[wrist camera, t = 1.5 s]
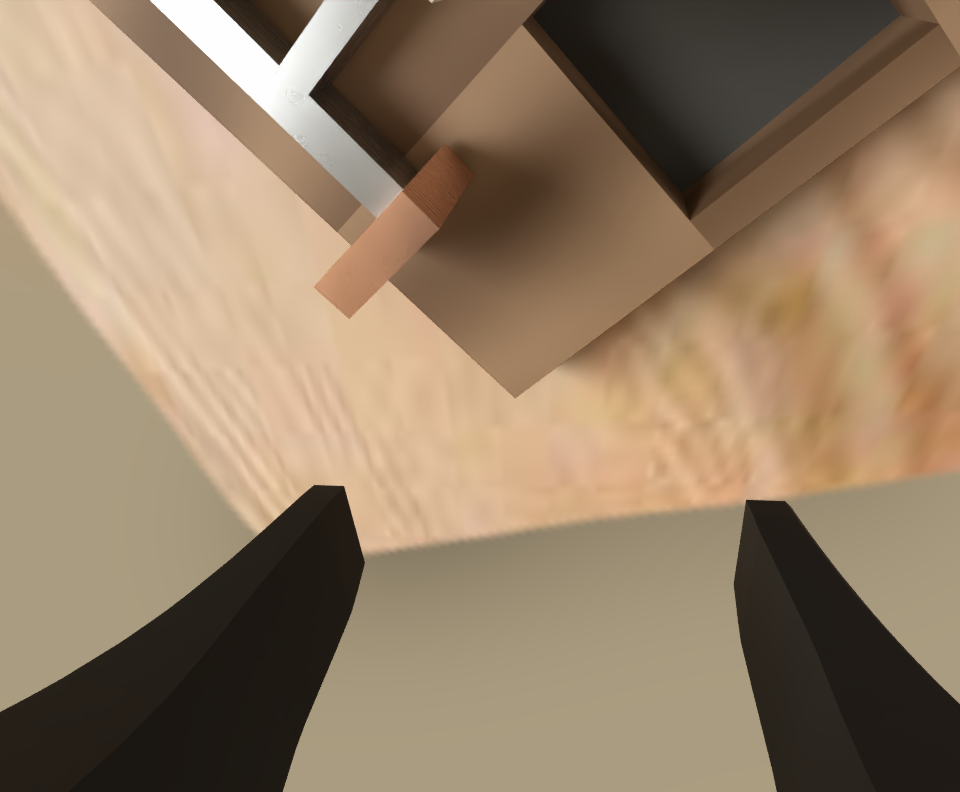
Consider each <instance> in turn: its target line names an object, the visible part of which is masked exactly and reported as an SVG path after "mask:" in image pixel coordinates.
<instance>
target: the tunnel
mask: <svg viewBox="0 0 960 792" xmlns="http://www.w3.org/2000/svg"><path fill="white" fill-rule="evenodd" d="M89 1H90V2H91V3H93V4H94V5H95V6H96V7H97V8H98V9H99V10H100V11H101V12H102V13H103V14H104V15H105V16H106V17H108V18H109V19H110V20H111V21H112V22H113V23H114V24H115V25H116V26H117V27H118V28H119V29H120V30H121V31H122V32H124V33H125V34H126V35H127V36H128V37H129V38H130V39H131V40H132V41H133V42H134V43H135V44H136V45H137V46H139V47H140V48H141V49H142V50H143V51H144V52H145V53H146V54H147V55H148V56H149V57H150V58H151V59H152V60H154V61H155V62H156V63H157V64H158V65H159V66H160V67H161V68H162V69H163V70H164V71H165V72H166V73H167V74H169V75H170V76H171V77H172V78H173V79H174V80H175V81H176V82H177V83H178V84H179V85H180V86H181V87H182V88H183V89H185V90H186V91H187V92H188V93H189V94H190V95H191V96H192V97H193V98H194V99H195V100H196V101H197V102H198V103H200V104H201V105H202V106H203V107H204V108H205V109H206V110H207V111H208V112H209V113H210V114H211V115H212V116H213V117H215V118H216V119H217V120H218V121H219V122H220V123H221V124H222V125H223V126H224V127H225V128H226V129H227V130H228V131H229V132H231V133H232V134H233V135H234V136H235V137H236V138H237V139H238V140H239V141H240V142H241V143H242V144H243V145H244V146H246V147H247V148H248V149H249V150H250V151H251V152H252V153H253V154H254V155H255V156H256V157H257V158H258V159H259V160H261V161H262V162H263V163H264V164H265V165H266V166H267V167H268V168H269V169H270V170H271V171H272V172H273V173H274V174H276V175H277V176H278V177H279V178H280V179H281V180H282V181H283V182H284V183H285V184H286V185H287V186H288V187H289V188H290V189H292V190H293V191H294V192H295V193H296V194H297V195H298V196H299V197H300V198H301V199H302V200H303V201H304V202H305V203H307V204H308V205H309V206H310V207H311V208H312V209H313V210H314V211H315V212H316V213H317V214H318V215H319V216H320V217H322V218H323V219H324V220H325V221H326V222H327V223H328V224H329V225H330V226H331V227H332V228H333V229H334V230H335V231H336V232H338V233H339V234H340V235H341V236H342V237H343V238H344V239H345V240H346V241H347V242H348V243H349V244H350V245H352V244H353V243H354V242H355V241H356V240H357V239H358V237H359V236H360V235H361V234H362V233H363V232H364V231H365V230H366V229H367V228H368V226H369V225H370V224H371V223H372V222H373V221H374V220H375V219H376V217H375V216H374V215H373V214H372V213H371V212H370V211H369V210H368V209H366V208H365V207H364V206H363V205H362V204H361V203H360V202H359V201H358V200H357V199H356V198H355V197H354V196H353V195H352V194H351V193H350V192H349V191H348V190H347V189H346V188H345V187H344V186H343V185H342V184H341V183H340V182H338V181H337V180H336V179H335V178H334V177H333V176H332V175H331V174H330V173H329V172H328V171H327V170H326V169H325V168H324V167H323V166H322V165H321V164H320V163H319V162H318V161H317V160H316V159H315V158H314V157H313V156H311V155H310V154H309V153H308V152H307V151H306V150H305V149H304V148H303V147H302V146H301V145H300V144H299V143H298V142H297V141H296V140H295V139H294V138H293V137H292V136H291V135H290V134H289V133H288V132H287V131H286V130H284V129H283V128H282V127H281V126H280V125H279V124H278V123H277V122H276V121H275V120H274V119H273V118H272V117H271V116H270V115H269V114H268V113H267V112H266V111H265V110H264V109H263V108H262V107H261V106H260V105H259V104H258V103H256V102H255V101H254V100H253V99H252V98H251V97H250V96H249V95H248V94H247V93H246V92H245V91H244V90H243V89H242V88H241V87H240V86H239V85H238V84H237V83H236V82H235V81H234V80H233V79H232V78H231V77H229V76H228V75H227V74H226V73H225V72H224V71H223V70H222V69H221V68H220V67H219V66H218V65H217V64H216V63H215V62H214V61H213V60H212V59H211V58H210V57H209V56H208V55H207V54H206V53H205V52H204V51H202V50H201V49H200V48H199V47H198V46H197V45H196V44H195V43H194V42H193V41H192V40H191V39H190V38H189V37H188V36H187V35H186V34H185V33H184V32H183V31H182V30H181V29H180V28H179V27H178V26H177V25H176V24H174V23H173V22H172V21H171V20H170V19H169V18H168V17H167V16H166V15H165V14H164V13H163V12H162V11H161V10H160V9H159V8H158V7H157V6H156V5H155V4H154V3H153V2H152V1H151V0H89ZM250 1H251V2H252V3H253V4H254V5H255V6H256V7H257V8H258V9H259V10H260V11H261V12H262V13H263V14H264V15H265V16H266V17H267V18H268V19H269V20H270V21H271V22H272V23H273V24H274V25H275V26H276V27H277V28H278V29H279V30H280V32H281V33H282V34H283V35H284V36H285V37H286V38H287V39H288V40H289V41H290V42H291V43H292V44H293V45H294V44H295V42H296V41H297V39H298V38H299V36H300V35H301V34H302V32H303V31H304V29H305V28H306V26H307V25H308V24H309V22H310V21H311V19H312V18H313V16H314V15H315V13H316V12H317V11H318V9H319V8H320V6H321V5H322V3H323V2H324V1H325V0H250ZM959 67H960V0H395V1H394V3H393V4H392V5H391V7H390V8H389V9H388V11H387V12H386V13H385V15H384V16H383V17H382V19H381V20H380V21H379V23H378V24H377V25H376V27H375V28H374V29H373V30H372V32H371V33H370V34H369V36H368V37H367V38H366V40H365V41H364V42H363V44H362V45H361V46H360V48H359V49H358V50H357V52H356V53H355V54H354V56H353V57H352V58H351V60H350V61H349V62H348V63H347V65H346V66H345V67H344V69H343V70H342V71H341V73H340V74H339V75H338V77H337V78H336V79H335V81H334V82H333V83H332V84H333V85H334V86H335V87H336V88H337V89H338V90H339V91H340V92H341V93H342V94H343V95H344V96H345V97H346V98H347V99H348V100H349V101H350V102H351V104H352V105H353V106H354V107H355V108H356V109H357V110H358V111H359V112H360V113H361V114H362V115H363V116H364V117H365V118H366V119H367V120H368V121H369V122H370V123H371V124H372V125H373V126H374V127H375V128H376V129H377V130H378V131H379V132H380V133H381V134H382V135H383V136H384V137H385V138H386V139H387V140H388V141H389V142H390V143H391V144H392V145H393V146H394V147H395V148H396V149H397V150H398V151H399V152H400V153H401V154H402V155H403V156H404V157H405V158H406V159H407V160H408V161H409V162H410V163H411V164H412V165H413V166H414V167H415V168H416V169H417V170H418V171H420V170H421V169H422V168H423V167H424V166H425V164H426V163H427V162H428V161H429V160H430V159H431V158H432V157H433V156H434V155H435V154H436V152H437V151H438V150H439V149H440V148H441V147H442V146H443V145H444V144H445V143H446V144H447V145H448V146H449V147H450V148H451V149H452V150H453V151H454V152H455V153H456V154H457V155H458V156H459V158H460V159H461V160H462V161H463V162H464V163H465V164H466V165H467V166H468V167H469V168H470V169H471V170H472V171H473V172H474V173H475V174H474V176H473V177H472V179H471V180H470V182H469V183H468V185H467V187H466V188H465V190H464V191H463V193H462V194H461V196H460V197H459V199H458V201H457V202H456V204H455V205H454V207H453V208H452V210H451V211H450V213H449V215H448V216H447V218H446V219H445V221H444V222H443V224H442V226H441V227H440V229H439V230H438V231H437V232H436V233H435V234H434V235H433V236H432V237H431V238H430V239H429V240H428V241H427V242H426V243H425V244H424V245H423V246H422V247H421V248H420V249H419V250H418V251H417V252H416V253H415V254H414V255H413V256H412V257H411V258H410V259H409V260H408V261H407V262H406V263H405V264H404V265H403V266H402V267H401V268H400V269H399V270H398V271H397V272H396V273H395V274H394V275H393V276H392V277H391V278H390V279H389V281H390V282H391V283H392V284H393V285H394V286H395V287H396V288H397V289H399V290H400V291H401V292H402V293H403V294H404V295H405V296H406V297H407V298H408V299H409V300H410V301H411V302H412V303H414V304H415V305H416V306H417V307H418V308H419V309H420V310H421V311H422V312H423V313H424V314H425V315H426V316H427V317H429V318H430V319H431V320H432V321H433V322H434V323H435V324H436V325H437V326H438V327H439V328H440V329H441V330H442V331H443V332H445V333H446V334H447V335H448V336H449V337H450V338H451V339H452V340H453V341H454V342H455V343H456V344H457V345H458V346H460V347H461V348H462V349H463V350H464V351H465V352H466V353H467V354H468V355H469V356H470V357H471V358H472V359H473V360H475V361H476V362H477V363H478V364H479V365H480V366H481V367H482V368H483V369H484V370H485V371H486V372H487V373H488V374H490V375H491V376H492V377H493V378H494V379H495V380H496V381H497V382H498V383H499V384H500V385H501V386H502V387H503V388H504V389H506V390H507V391H508V392H509V393H510V394H511V395H512V396H513V397H514V398H516V397H518V396H519V395H520V394H522V393H523V392H524V391H526V390H527V389H528V388H530V387H531V386H532V385H534V384H535V383H536V382H538V381H539V380H540V379H542V378H543V377H544V376H546V375H547V374H548V373H550V372H551V371H552V370H554V369H555V368H557V367H558V366H559V365H561V364H562V363H563V362H565V361H566V360H567V359H569V358H570V357H571V356H573V355H574V354H575V353H577V352H578V351H579V350H581V349H582V348H583V347H585V346H586V345H587V344H589V343H590V342H591V341H593V340H594V339H595V338H597V337H598V336H599V335H601V334H602V333H603V332H605V331H606V330H607V329H609V328H610V327H611V326H613V325H614V324H616V323H617V322H618V321H620V320H621V319H622V318H624V317H625V316H626V315H628V314H629V313H630V312H632V311H633V310H634V309H636V308H637V307H638V306H640V305H641V304H642V303H644V302H645V301H646V300H648V299H649V298H650V297H652V296H653V295H654V294H656V293H657V292H658V291H660V290H661V289H662V288H664V287H665V286H666V285H668V284H669V283H670V282H672V281H673V280H675V279H676V278H677V277H679V276H680V275H681V274H683V273H684V272H685V271H687V270H688V269H689V268H691V267H692V266H693V265H695V264H696V263H697V262H699V261H700V260H701V259H703V258H704V257H705V256H707V255H708V254H709V253H711V252H712V251H713V250H715V249H716V248H717V247H719V246H720V245H721V244H723V243H724V242H725V241H727V240H728V239H729V238H731V237H732V236H734V235H735V234H736V233H738V232H739V231H740V230H742V229H743V228H744V227H746V226H747V225H748V224H750V223H751V222H752V221H754V220H755V219H756V218H758V217H759V216H760V215H762V214H763V213H764V212H766V211H767V210H768V209H770V208H771V207H772V206H774V205H775V204H776V203H778V202H779V201H780V200H782V199H783V198H784V197H786V196H787V195H788V194H790V193H791V192H793V191H794V190H795V189H797V188H798V187H799V186H801V185H802V184H803V183H805V182H806V181H807V180H809V179H810V178H811V177H813V176H814V175H815V174H817V173H818V172H819V171H821V170H822V169H823V168H825V167H826V166H827V165H829V164H830V163H831V162H833V161H834V160H835V159H837V158H838V157H839V156H841V155H842V154H843V153H845V152H846V151H847V150H849V149H850V148H852V147H853V146H854V145H856V144H857V143H858V142H860V141H861V140H862V139H864V138H865V137H866V136H868V135H869V134H870V133H872V132H873V131H874V130H876V129H877V128H878V127H880V126H881V125H882V124H884V123H885V122H886V121H888V120H889V119H890V118H892V117H893V116H894V115H896V114H897V113H898V112H900V111H901V110H902V109H904V108H905V107H906V106H908V105H909V104H911V103H912V102H913V101H915V100H916V99H917V98H919V97H920V96H921V95H923V94H924V93H925V92H927V91H928V90H929V89H931V88H932V87H933V86H935V85H936V84H937V83H939V82H940V81H941V80H943V79H944V78H945V77H947V76H948V75H949V74H951V73H952V72H953V71H955V70H956V69H957V68H959Z"/></svg>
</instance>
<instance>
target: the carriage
mask: <svg viewBox="0 0 960 792" xmlns="http://www.w3.org/2000/svg"><path fill="white" fill-rule="evenodd" d="M151 1H152V2H153V3H154V4H155V5H156V6H157V7H158V8H159V9H160V10H161V11H162V12H163V13H164V14H165V15H166V16H167V17H168V18H169V19H170V20H171V21H172V22H173V23H174V24H176V25H177V26H178V27H179V28H180V29H181V30H182V31H183V32H184V33H185V34H186V35H187V36H188V37H189V38H190V39H191V40H192V41H193V42H194V43H195V44H196V45H197V46H198V47H199V48H200V49H201V50H202V51H204V52H205V53H206V54H207V55H208V56H209V57H210V58H211V59H212V60H213V61H214V62H215V63H216V64H217V65H218V66H219V67H220V68H221V69H222V70H223V71H224V72H225V73H226V74H227V75H228V76H229V77H231V78H232V79H233V80H234V81H235V82H236V83H237V84H238V85H239V86H240V87H241V88H242V89H243V90H244V91H245V92H246V93H247V94H248V95H249V96H250V97H251V98H252V99H253V100H254V101H255V102H256V103H258V104H259V105H260V106H261V107H262V108H263V109H264V110H265V111H266V112H267V113H268V114H269V115H270V116H271V117H272V118H273V119H274V120H275V121H276V122H277V123H278V124H279V125H280V126H281V127H282V128H283V129H284V130H286V131H287V132H288V133H289V134H290V135H291V136H292V137H293V138H294V139H295V140H296V141H297V142H298V143H299V144H300V145H301V146H302V147H303V148H304V149H305V150H306V151H307V152H308V153H309V154H310V155H311V156H313V157H314V158H315V159H316V160H317V161H318V162H319V163H320V164H321V165H322V166H323V167H324V168H325V169H326V170H327V171H328V172H329V173H330V174H331V175H332V176H333V177H334V178H335V179H336V180H337V181H338V182H340V183H341V184H342V185H343V186H344V187H345V188H346V189H347V190H348V191H349V192H350V193H351V194H352V195H353V196H354V197H355V198H356V199H357V200H358V201H359V202H360V203H361V204H362V205H363V206H364V207H365V208H366V209H368V210H369V211H370V212H371V213H372V214H373V215H374V216H375V217H376V219H375V220H374V221H373V222H372V223H371V224H370V225H369V226H368V228H367V229H366V230H365V231H364V232H363V233H362V234H361V235H360V236H359V237H358V239H357V240H356V241H355V242H354V243H353V244H352V245H351V246H350V247H349V249H348V250H347V251H346V252H345V253H344V254H343V255H342V256H341V257H340V258H339V260H338V261H337V262H336V263H335V264H334V265H333V266H332V267H331V268H330V269H329V271H328V272H327V273H326V274H325V275H324V276H323V277H322V278H321V279H320V281H319V282H318V283H317V284H316V285H315V286H314V288H315V289H316V290H317V291H319V292H320V293H321V294H322V295H323V296H324V297H325V298H326V299H327V300H329V301H330V302H331V303H332V304H333V305H334V306H335V307H336V308H338V309H339V310H340V311H341V312H342V313H343V314H344V315H345V316H347V317H348V318H349V319H350V318H351V317H352V316H353V315H354V314H355V313H356V312H357V311H358V310H359V309H360V308H361V307H362V306H363V305H364V304H365V303H366V302H367V301H368V300H369V299H370V298H371V297H372V296H373V295H374V294H375V293H376V292H377V291H378V290H379V289H380V288H381V287H382V286H383V285H384V284H385V283H386V282H387V281H388V280H389V279H390V278H391V277H392V276H393V275H394V274H395V273H396V272H397V271H398V270H399V269H400V268H401V267H402V266H403V265H404V264H405V263H406V262H407V261H408V260H409V259H410V258H411V257H412V256H413V255H414V254H415V253H416V252H417V251H418V250H419V249H420V248H421V247H422V246H423V245H424V244H425V243H426V242H427V241H428V240H429V239H430V238H431V237H432V236H433V235H434V234H435V233H436V232H437V231H438V230H439V229H440V227H441V226H442V224H443V222H444V221H445V219H446V218H447V216H448V215H449V213H450V211H451V210H452V208H453V207H454V205H455V204H456V202H457V201H458V199H459V197H460V196H461V194H462V193H463V191H464V190H465V188H466V187H467V185H468V183H469V182H470V180H471V179H472V177H473V176H474V174H475V173H474V172H473V171H472V170H471V169H470V168H469V167H468V166H467V165H466V164H465V163H464V162H463V161H462V160H461V159H460V158H459V156H458V155H457V154H456V153H455V152H454V151H453V150H452V149H451V148H450V147H449V146H448V145H447V144H446V143H445V144H444V145H443V146H442V147H441V148H440V149H439V150H438V151H437V152H436V154H435V155H434V156H433V157H432V158H431V159H430V160H429V161H428V162H427V163H426V164H425V166H424V167H423V168H422V169H421V170H420V171H418V170H417V169H416V168H415V167H414V166H413V165H412V164H411V163H410V162H409V161H408V160H407V159H406V158H405V157H404V156H403V155H402V154H401V153H400V152H399V151H398V150H397V149H396V148H395V147H394V146H393V145H392V144H391V143H390V142H389V141H388V140H387V139H386V138H385V137H384V136H383V135H382V134H381V133H380V132H379V131H378V130H377V129H376V128H375V127H374V126H373V125H372V124H371V123H370V122H369V121H368V120H367V119H366V118H365V117H364V116H363V115H362V114H361V113H360V112H359V111H358V110H357V109H356V108H355V107H354V106H353V105H352V104H351V102H350V101H349V100H348V99H347V98H346V97H345V96H344V95H343V94H342V93H341V92H340V91H339V90H338V89H337V88H336V87H335V86H334V85H333V84H332V83H333V82H334V81H335V79H336V78H337V77H338V75H339V74H340V73H341V71H342V70H343V69H344V67H345V66H346V65H347V63H348V62H349V61H350V60H351V58H352V57H353V56H354V54H355V53H356V52H357V50H358V49H359V48H360V46H361V45H362V44H363V42H364V41H365V40H366V38H367V37H368V36H369V34H370V33H371V32H372V30H373V29H374V28H375V27H376V25H377V24H378V23H379V21H380V20H381V19H382V17H383V16H384V15H385V13H386V12H387V11H388V9H389V8H390V7H391V5H392V4H393V3H394V1H395V0H325V1H324V2H323V3H322V5H321V6H320V8H319V9H318V11H317V12H316V13H315V15H314V16H313V18H312V19H311V21H310V22H309V24H308V25H307V26H306V28H305V29H304V31H303V32H302V34H301V35H300V36H299V38H298V39H297V41H296V42H295V44H294V45H293V44H292V43H291V42H290V41H289V40H288V39H287V38H286V37H285V36H284V35H283V34H282V33H281V32H280V30H279V29H278V28H277V27H276V26H275V25H274V24H273V23H272V22H271V21H270V20H269V19H268V18H267V17H266V16H265V15H264V14H263V13H262V12H261V11H260V10H259V9H258V8H257V7H256V6H255V5H254V4H253V3H252V2H251V1H250V0H151Z"/></svg>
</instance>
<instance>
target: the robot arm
mask: <svg viewBox="0 0 960 792" xmlns="http://www.w3.org/2000/svg"><path fill="white" fill-rule="evenodd" d="M364 564H365V562H364V558H363V554H362V550H361V547H360V543H359V539H358V536H357V532H356V528H355V525H354V521H353V517H352V514H351V510H350V506H349V503H348V499H347V495H346V492H345V488H344V486H325V485H314V486H313V487H311V488H310V489H309V490H308V491H307V492H305V493H304V494H303V495H302V496H301V497H300V498H299V499H298V500H296V501H295V502H294V503H293V504H292V505H291V506H290V507H289V508H288V509H286V510H285V511H284V512H283V513H282V514H281V515H280V516H279V517H278V518H277V519H275V520H274V521H273V522H272V523H271V524H270V525H269V526H268V527H267V528H266V529H264V530H263V531H262V532H261V533H260V534H259V535H258V536H256V537H255V538H254V539H253V540H252V541H251V542H250V543H249V544H247V545H246V546H245V547H244V548H243V549H242V550H241V551H240V552H238V553H237V554H236V555H235V556H234V557H233V558H231V560H229V561H228V562H227V563H226V564H224V565H223V566H222V567H221V568H220V569H218V570H217V571H216V572H215V573H213V574H212V575H211V576H210V577H208V578H207V579H206V580H205V581H203V582H202V583H201V584H200V585H198V586H197V587H196V588H195V589H194V590H192V591H191V592H190V593H189V594H187V595H186V596H185V597H184V598H182V599H181V600H180V601H178V602H177V603H176V604H174V605H173V606H172V607H171V608H169V609H168V610H167V611H165V612H164V613H162V614H161V615H160V616H158V617H157V618H155V619H154V620H153V621H151V622H150V623H148V624H147V625H145V626H144V627H142V628H141V629H140V630H138V631H137V632H135V633H134V634H132V635H131V636H129V637H128V638H127V639H125V640H123V641H122V642H120V643H119V644H117V645H116V646H114V647H112V648H111V649H109V650H108V651H106V652H104V653H103V654H101V655H100V656H98V657H96V658H95V659H93V660H91V661H90V662H88V663H86V664H85V665H83V666H82V667H80V668H78V669H77V670H75V671H74V672H72V673H70V674H69V675H67V676H65V677H64V678H62V679H60V680H58V681H57V682H55V683H53V684H51V685H50V686H48V687H46V688H44V689H42V690H41V691H39V692H37V693H35V694H33V695H32V696H30V697H28V698H26V699H24V700H22V701H20V702H19V703H17V704H15V705H13V706H11V707H9V708H7V709H5V710H3V711H1V712H0V792H283V789H284V786H285V782H286V779H287V776H288V773H289V769H290V766H291V763H292V760H293V757H294V753H295V750H296V747H297V744H298V741H299V739H300V736H301V733H302V731H303V728H304V725H305V723H306V720H307V718H308V716H309V713H310V711H311V709H312V706H313V704H314V701H315V699H316V697H317V694H318V692H319V689H320V687H321V685H322V682H323V680H324V678H325V675H326V673H327V671H328V668H329V666H330V663H331V661H332V659H333V656H334V654H335V652H336V649H337V647H338V644H339V642H340V639H341V637H342V634H343V632H344V629H345V627H346V625H347V622H348V620H349V617H350V615H351V612H352V609H353V605H354V602H355V598H356V594H357V591H358V588H359V584H360V580H361V576H362V572H363V568H364ZM734 591H735V599H736V607H737V616H738V624H739V631H740V638H741V644H742V648H743V653H744V657H745V661H746V665H747V669H748V673H749V677H750V681H751V685H752V690H753V694H754V698H755V702H756V706H757V710H758V714H759V717H760V722H761V726H762V730H763V734H764V738H765V742H766V746H767V750H768V754H769V758H770V762H771V767H772V771H773V775H774V780H775V785H776V790H777V792H960V704H959V703H958V702H957V701H956V700H955V699H954V698H953V697H952V696H951V695H950V694H949V693H948V692H947V691H946V690H944V689H943V688H942V687H941V686H940V685H939V684H938V683H937V682H936V681H935V680H934V679H933V678H932V677H931V676H930V674H928V673H927V671H926V670H925V669H924V668H923V667H922V666H921V665H920V664H919V663H918V662H917V661H916V660H915V659H914V658H913V657H912V656H911V655H910V654H909V653H908V652H907V650H906V649H905V648H904V647H903V646H902V645H901V644H900V643H899V642H898V641H897V640H896V638H895V637H894V636H893V635H892V634H891V633H890V632H889V631H888V630H887V629H886V628H885V626H884V625H883V624H882V623H881V622H880V621H879V620H878V618H877V617H876V616H875V615H874V614H873V613H872V612H871V610H870V609H869V608H868V607H867V606H866V604H864V602H863V601H862V600H861V598H860V597H859V596H858V595H857V594H856V592H855V591H854V590H853V589H852V587H851V586H850V585H849V584H848V583H847V581H846V580H845V579H844V578H843V577H842V575H841V574H840V573H839V571H838V570H837V569H836V568H835V566H834V565H833V564H832V563H831V561H830V560H829V559H828V557H827V556H826V555H825V554H824V552H823V551H822V550H821V548H820V547H819V546H818V544H817V543H816V541H815V540H814V539H813V537H812V536H811V535H810V533H809V532H808V530H807V529H806V528H805V526H804V525H803V524H802V522H801V521H800V519H799V518H798V516H797V515H796V514H795V512H794V511H793V509H792V508H791V507H790V506H789V505H788V504H787V503H786V502H785V501H764V500H746V505H745V512H744V519H743V526H742V532H741V539H740V545H739V552H738V559H737V566H736V572H735V580H734Z"/></svg>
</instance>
